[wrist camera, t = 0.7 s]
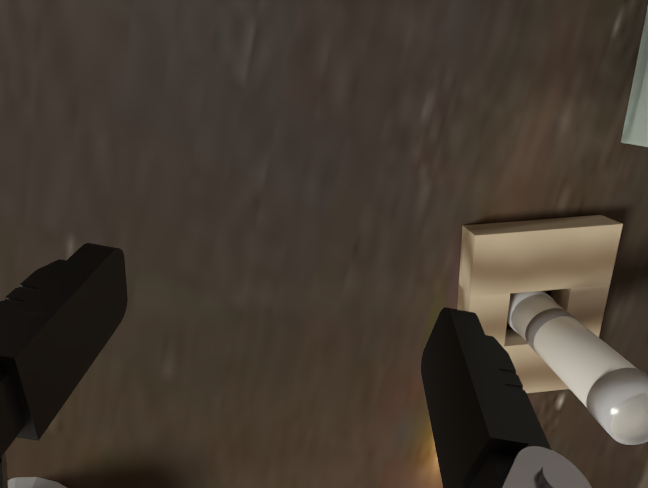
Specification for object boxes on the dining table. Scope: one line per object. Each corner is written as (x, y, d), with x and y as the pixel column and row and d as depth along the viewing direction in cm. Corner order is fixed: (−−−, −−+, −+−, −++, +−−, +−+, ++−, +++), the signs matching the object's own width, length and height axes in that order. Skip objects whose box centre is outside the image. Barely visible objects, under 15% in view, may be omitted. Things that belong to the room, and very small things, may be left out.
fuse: (501, 284, 37) (616, 393, 24) (546, 281, 37) (685, 386, 24) (496, 325, 39) (602, 448, 25) (540, 321, 39) (667, 440, 26)
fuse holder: (462, 225, 35) (475, 235, 32) (601, 214, 35) (622, 223, 33) (452, 381, 40) (462, 399, 38) (571, 369, 41) (588, 386, 39)
